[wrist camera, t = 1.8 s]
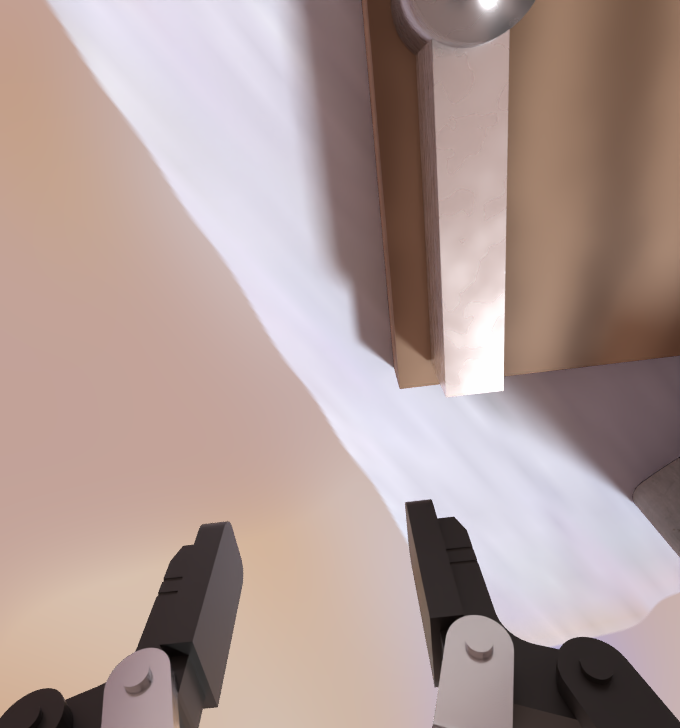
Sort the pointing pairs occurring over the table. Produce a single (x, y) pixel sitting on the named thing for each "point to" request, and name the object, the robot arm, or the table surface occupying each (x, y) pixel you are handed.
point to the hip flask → (662, 502)
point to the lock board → (553, 186)
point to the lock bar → (463, 178)
